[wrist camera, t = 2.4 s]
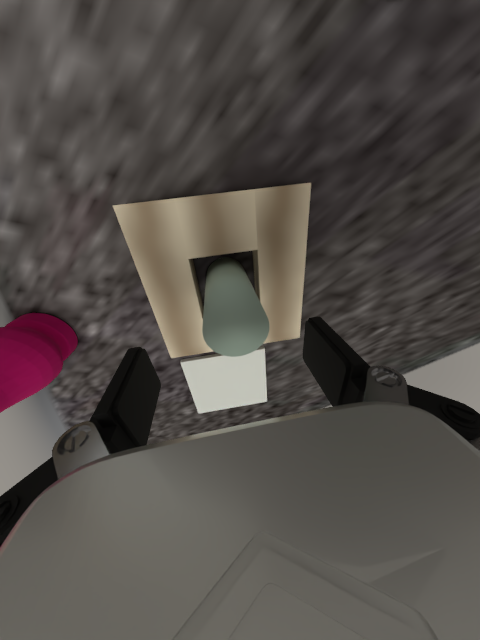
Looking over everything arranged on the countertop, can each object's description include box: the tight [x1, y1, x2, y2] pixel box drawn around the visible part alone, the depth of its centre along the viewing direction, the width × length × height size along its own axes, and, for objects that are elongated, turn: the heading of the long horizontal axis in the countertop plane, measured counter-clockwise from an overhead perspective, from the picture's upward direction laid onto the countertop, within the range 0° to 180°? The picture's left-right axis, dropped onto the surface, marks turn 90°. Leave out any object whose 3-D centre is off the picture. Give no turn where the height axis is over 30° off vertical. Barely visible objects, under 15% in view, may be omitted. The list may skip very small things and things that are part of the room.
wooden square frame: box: [113, 183, 311, 358], centre depth 21 cm, size 16×16×3 cm
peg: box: [202, 257, 269, 357], centre depth 18 cm, size 4×4×11 cm
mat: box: [180, 346, 267, 413], centre depth 31 cm, size 12×12×1 cm
